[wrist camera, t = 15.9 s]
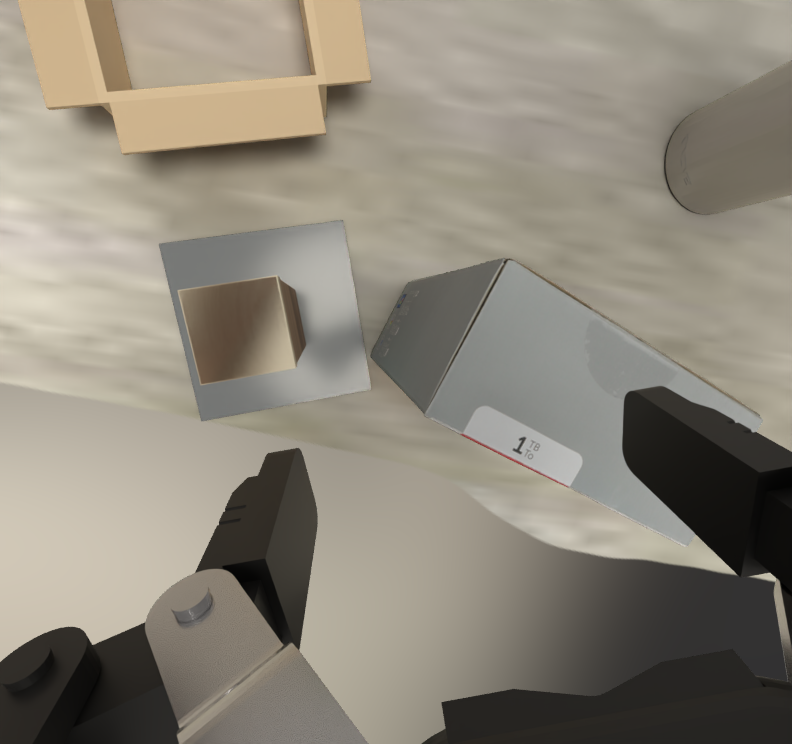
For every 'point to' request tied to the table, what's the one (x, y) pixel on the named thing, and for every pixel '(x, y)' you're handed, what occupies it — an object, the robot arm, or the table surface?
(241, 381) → the coaster
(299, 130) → the carton
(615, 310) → the table surface
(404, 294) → the hard drive box
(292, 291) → the walnut box
